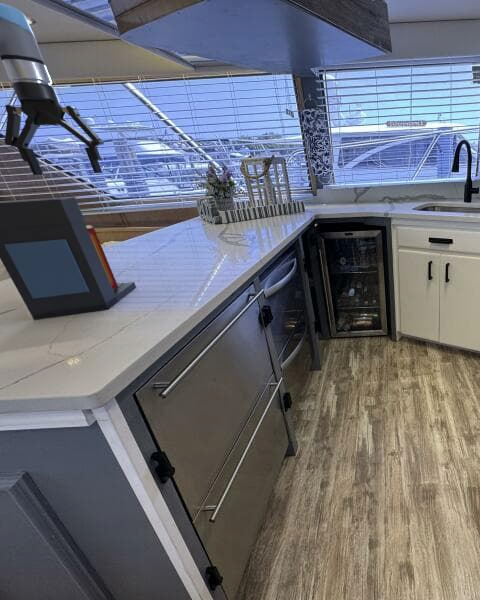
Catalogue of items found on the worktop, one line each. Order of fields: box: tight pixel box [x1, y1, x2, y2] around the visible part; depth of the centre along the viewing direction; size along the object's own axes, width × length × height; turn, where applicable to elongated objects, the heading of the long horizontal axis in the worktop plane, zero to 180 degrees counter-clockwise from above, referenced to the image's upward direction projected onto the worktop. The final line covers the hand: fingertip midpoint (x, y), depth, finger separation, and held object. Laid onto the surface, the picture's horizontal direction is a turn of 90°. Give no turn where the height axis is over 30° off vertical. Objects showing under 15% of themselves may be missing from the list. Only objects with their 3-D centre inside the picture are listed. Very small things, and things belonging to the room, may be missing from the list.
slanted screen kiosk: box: [0, 196, 137, 321], centre depth 76 cm, size 14×16×25 cm
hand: (69, 173), depth 90 cm, fingers open, 13 cm apart
